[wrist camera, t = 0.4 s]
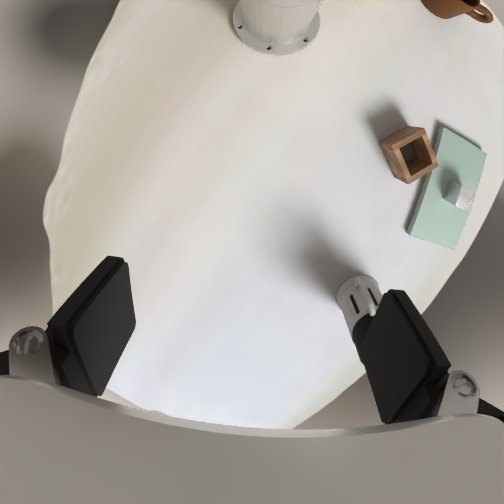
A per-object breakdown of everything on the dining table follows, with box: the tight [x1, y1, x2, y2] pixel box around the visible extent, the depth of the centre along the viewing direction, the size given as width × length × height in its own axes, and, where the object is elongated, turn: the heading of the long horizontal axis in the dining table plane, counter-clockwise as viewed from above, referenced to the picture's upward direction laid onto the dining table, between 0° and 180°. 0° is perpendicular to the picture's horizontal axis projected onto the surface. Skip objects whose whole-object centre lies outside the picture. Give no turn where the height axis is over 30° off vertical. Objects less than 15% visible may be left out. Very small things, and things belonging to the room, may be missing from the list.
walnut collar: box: [379, 126, 438, 184], centre depth 36 cm, size 6×6×5 cm
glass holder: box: [336, 275, 382, 364], centre depth 43 cm, size 9×14×15 cm, turn 25°
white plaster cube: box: [443, 180, 475, 212], centre depth 37 cm, size 4×4×4 cm
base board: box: [406, 127, 487, 250], centre depth 40 cm, size 20×12×2 cm, turn 168°
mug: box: [422, 0, 493, 23], centre depth 21 cm, size 12×8×9 cm, turn 73°
